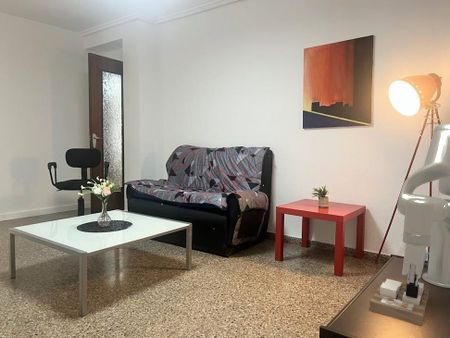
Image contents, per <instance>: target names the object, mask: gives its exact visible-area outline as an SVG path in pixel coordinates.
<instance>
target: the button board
mask: <svg viewBox="0 0 450 338" xmlns="http://www.w3.org/2000/svg"><path fill="white" fill-rule="evenodd" d="M387 279H388V278H383V280H382V281H381V282H380V284H379V286H378V287H377V289H376V291H375V293H374V294H373V296H372V297H371V299H370V300H369V311H370V312H374V313H377V314H381V315H383V316H387V317H391V318H394V319H397V320H400V321H404V322H407V323H411V324H413V325H418V326H421V327H422V326H423V321H424V318H425V313H426V308H427V305H428V301H429V293H430V292H429V291H430V290H429V289H427V288H424V287H423V294H422V296H421V302H420V306H418V305H414V304H411V303H407V302H403V301H402V298H403V294H404V292H406V284H407V283H403V282H402V284H401V290H400V291H399V290H398V295H397V297H396V299H392V298H389V297H385V296H381V295H380V286H381V285H382V283H383V282H384V283H385V281H386V280H387Z"/></svg>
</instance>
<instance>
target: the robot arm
mask: <svg viewBox="0 0 450 338" xmlns="http://www.w3.org/2000/svg"><path fill="white" fill-rule="evenodd" d="M427 149H428V150H427V154H426V157H425V160H424V164H423V166H422V167H421V168H419V169H417V170H415V171H414V172H412V174H410V175H409V176H408V177H407V178H406V180H405V181H404V182H403V184H402V186H401V190H400V193H399V196H398V199H397V211H398V213H400V214H401V215H402V216H404V219H403V220H404V221H403V231H402V242H403V243H404V244H405V247H404V254H403V262H402V263H403V264H402V272H401V275H402V276H407V280H406V284H407V285H406V296H408V297H412V298H416V299H417V297H418V289H419V285H418V282H419V280H420V279H421V276H422V279H423V280H424V281H425V282H426V283H429V284H431V285H433V286H437V287H439V288H445V289H446V288H447V289H450V199H448V198H441V197H436V196H429V195H424V194H414V192H415V191H416V189H418V188H419V187H420V186H422V185H425V184H427V183H431V182H434V181H438V186H437V187H438V191H439V193H440V194H442V195H445V196H449V197H450V122H444V123H440V124H437V125H436V126H434V130H433V134H432V137H431V140H430V143H429V146H428V148H427ZM427 248H429V251H428V253H429V254H428V263H427V264H428V265H427V272H424V273H423V271H424V270H423V269H424V267H423V266H424V265H425V262H424V260H425V250H427ZM419 283H420V282H419Z"/></svg>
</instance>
